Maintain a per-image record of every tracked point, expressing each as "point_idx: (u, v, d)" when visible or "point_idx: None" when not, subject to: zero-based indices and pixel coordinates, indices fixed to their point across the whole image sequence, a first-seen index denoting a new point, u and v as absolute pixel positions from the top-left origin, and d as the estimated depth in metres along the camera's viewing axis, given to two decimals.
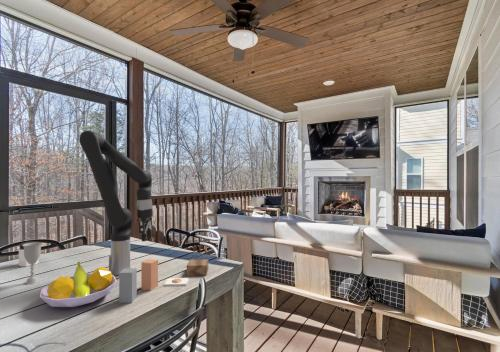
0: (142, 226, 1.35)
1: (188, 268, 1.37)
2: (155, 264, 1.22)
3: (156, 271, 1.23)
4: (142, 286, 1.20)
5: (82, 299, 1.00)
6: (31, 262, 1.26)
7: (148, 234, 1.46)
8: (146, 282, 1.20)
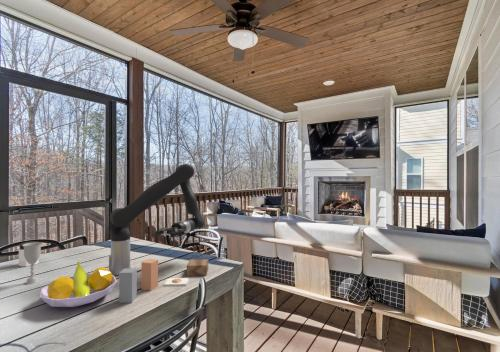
0: (184, 233, 1.38)
1: (188, 268, 1.37)
2: (155, 264, 1.22)
3: (156, 271, 1.23)
4: (142, 286, 1.20)
5: (82, 299, 1.00)
6: (31, 262, 1.26)
7: (158, 233, 1.35)
8: (146, 282, 1.20)
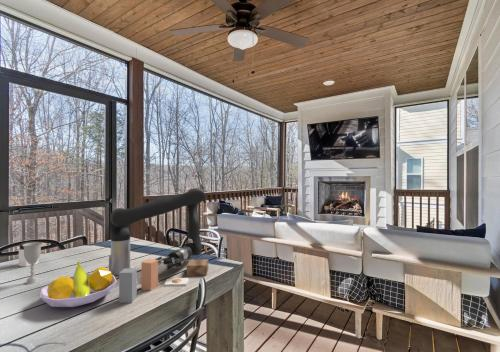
0: (181, 264, 1.35)
1: (188, 268, 1.37)
2: (155, 264, 1.22)
3: (156, 271, 1.23)
4: (142, 286, 1.20)
5: (82, 299, 1.00)
6: (31, 262, 1.26)
7: None
8: (146, 282, 1.20)
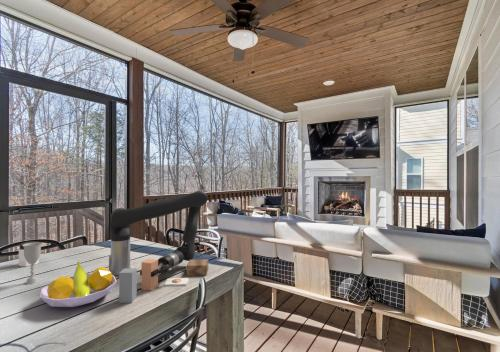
0: (168, 270, 1.25)
1: (188, 268, 1.37)
2: (155, 264, 1.22)
3: None
4: (142, 286, 1.20)
5: (82, 299, 1.00)
6: (31, 262, 1.26)
7: None
8: (146, 282, 1.20)
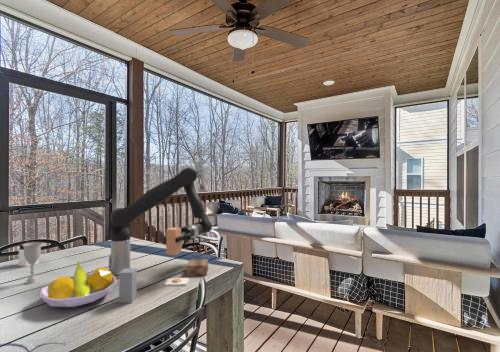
0: (190, 238, 1.34)
1: (188, 268, 1.37)
2: (178, 231, 1.31)
3: None
4: (167, 251, 1.29)
5: (82, 299, 1.00)
6: (31, 262, 1.26)
7: None
8: (170, 248, 1.29)
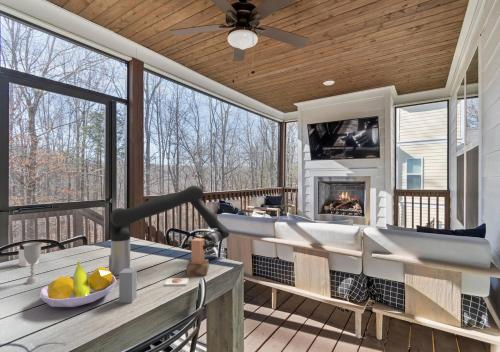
0: (214, 245, 1.46)
1: (188, 268, 1.37)
2: (202, 242, 1.42)
3: None
4: (192, 261, 1.41)
5: (82, 299, 1.00)
6: (31, 262, 1.26)
7: None
8: (195, 257, 1.40)
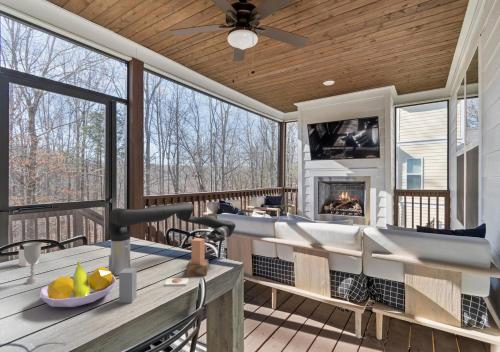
0: (223, 239, 1.57)
1: (188, 268, 1.37)
2: (202, 242, 1.42)
3: (203, 248, 1.43)
4: (192, 261, 1.41)
5: (82, 299, 1.00)
6: (31, 262, 1.26)
7: None
8: (195, 257, 1.40)
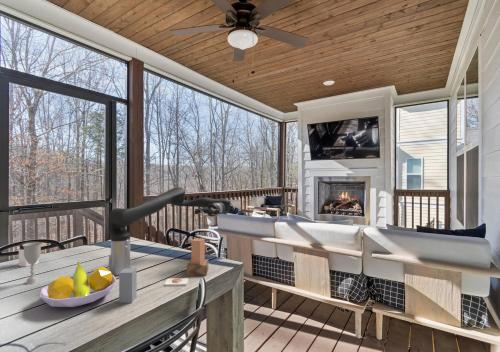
0: (219, 212, 1.55)
1: (188, 268, 1.37)
2: (202, 242, 1.42)
3: (203, 248, 1.43)
4: (192, 261, 1.41)
5: (82, 299, 1.00)
6: (31, 262, 1.26)
7: (197, 211, 1.52)
8: (195, 257, 1.40)
